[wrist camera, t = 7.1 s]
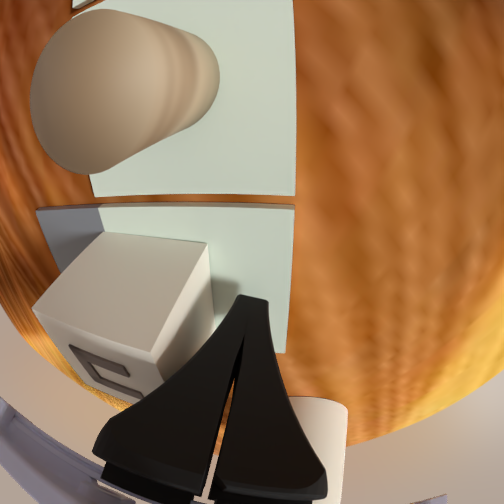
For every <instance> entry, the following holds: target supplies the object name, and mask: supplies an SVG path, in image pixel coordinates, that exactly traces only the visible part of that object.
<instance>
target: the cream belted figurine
mask: <svg viewBox="0 0 504 504" xmlns="http://www.w3.org/2000/svg"><path fill="white" fill-rule="evenodd" d="M289 400H290V402H291V405H292V407H293V410H294V412H295V414H296V416H297V418H298V421H299V423H300V425H301V427H302V429H303V431H304V433H305V435H306V437H307V439H308V441H309V443H310V444H311V446H312V448H313V450H314V451H315V453H316V455H317V456H318V458H319V459H320V461H321V463H322V464H323V466H324V467H325V469H326V474H327V481H328V493H327V497H326V498H325V499H321V500H313V501H312V504H340V502H341V495H342V494H341V493H342V483H343V470H344V458H345V446H346V433H347V419H348V410H347V408H346V407H345V406H343V405H342V404H340V403H338V402H335V401H332V400H328V399H323V398H316V397H289Z"/></svg>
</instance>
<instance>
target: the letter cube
mask: <svg viewBox="0 0 504 504" xmlns="http://www.w3.org/2000/svg"><path fill="white" fill-rule="evenodd" d="M31 309H32V310H33V312H34V314H35V315H36V317H37V318H38V320H39V322H40V323H41V325H42V326H43V328H44V329H45V331H46V332H47V334H48V335H49V337H50V338H51V340H52V341H53V343H54V344H55V345H56V347H57V348H58V350H59V351H60V352H61V354H62V355H63V356H64V358H65V359H66V360H67V362H68V363H69V364H70V365H71V367H72V368H73V369H74V370H75V372H76V373H77V374H78V375H79V377H80V378H81V379H82V380H83V381H84V383H85V384H87V385H89V386H91V387H93V388H96V389H98V390H100V391H102V392H104V393H107V394H109V395H112V396H114V397H116V398H119V399H121V400H124V401H126V402H129V403H132V404H135V403H137V402H138V401H140V400H141V399H143V398H144V397H145V396H147V395H148V394H150V393H151V392H152V391H154V390H155V389H156V388H158V387H159V386H160V385H162V384H163V383H164V382H165V381H167V380H168V379H169V378H170V377H171V376H172V375H173V374H175V373H176V372H177V371H178V370H179V369H180V368H181V367H182V366H183V365H184V364H185V363H186V362H188V361H189V360H190V359H191V358H192V356H193V355H194V354H195V353H196V352H197V351H198V350H199V349H200V348H201V347H202V346H203V344H204V343H205V342H206V341H207V340H208V339H209V337H210V336H211V335H212V334H213V332H214V331H215V330H216V325H215V316H214V307H213V297H212V287H211V276H210V265H209V253H208V244H207V243H198V242H190V241H181V240H173V239H164V238H155V237H147V236H138V235H130V234H121V233H112V232H102V233H101V234H100V235H99V236H98V237H97V238H96V239H95V240H94V241H93V242H92V243H91V244H90V245H89V246H88V247H87V248H86V249H85V250H84V251H83V252H82V253H81V254H80V255H79V256H78V257H77V258H76V259H75V260H74V261H73V262H72V263H71V264H70V265H69V266H68V267H67V268H66V269H65V270H64V271H63V272H62V273H61V275H60V276H59V277H58V278H57V279H56V280H55V281H54V282H53V283H52V285H51V286H50V287H49V288H48V289H47V290H46V291H45V293H44V294H43V295H42V296H41V297H40V298H39V300H38V301H37V302H36V303H35V304H34V306H33V307H32V308H31Z"/></svg>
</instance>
